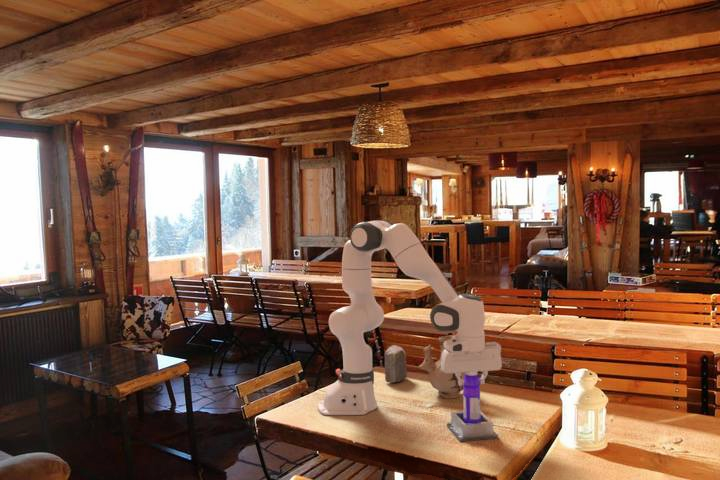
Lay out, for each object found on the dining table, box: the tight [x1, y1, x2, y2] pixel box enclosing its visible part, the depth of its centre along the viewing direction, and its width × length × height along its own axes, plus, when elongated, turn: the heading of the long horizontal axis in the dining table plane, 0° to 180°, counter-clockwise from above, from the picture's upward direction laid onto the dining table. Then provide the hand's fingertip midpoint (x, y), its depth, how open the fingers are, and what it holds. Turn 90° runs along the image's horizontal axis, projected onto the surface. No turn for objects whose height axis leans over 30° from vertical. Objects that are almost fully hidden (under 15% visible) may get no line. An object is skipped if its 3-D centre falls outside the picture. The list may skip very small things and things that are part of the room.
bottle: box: [462, 371, 482, 423], centre depth 183 cm, size 7×6×17 cm
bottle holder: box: [446, 410, 499, 443], centre depth 184 cm, size 13×13×5 cm
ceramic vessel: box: [417, 333, 465, 399], centre depth 221 cm, size 18×19×25 cm
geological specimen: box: [384, 344, 408, 384], centre depth 241 cm, size 11×6×15 cm, turn 147°
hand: (471, 384), depth 183 cm, fingers closed on bottle, 6 cm apart
